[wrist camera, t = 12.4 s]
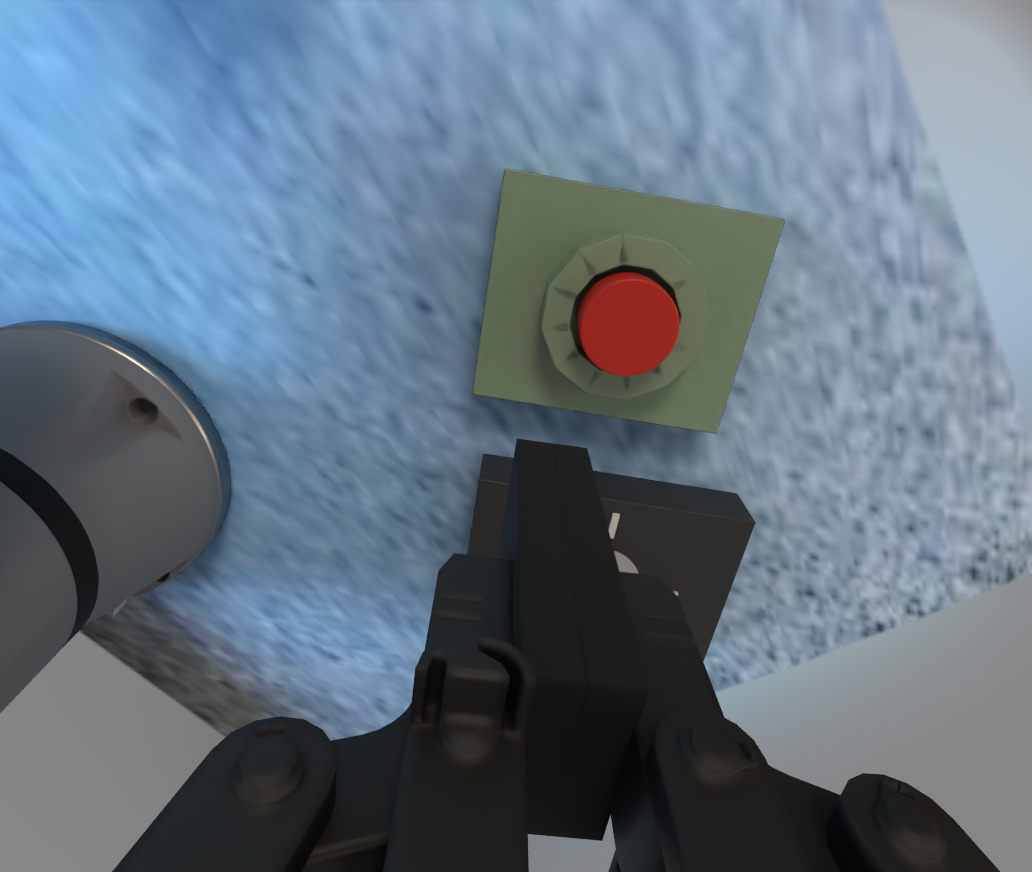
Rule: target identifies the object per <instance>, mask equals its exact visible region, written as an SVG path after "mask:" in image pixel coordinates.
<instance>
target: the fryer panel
mask: <svg viewBox="0 0 1032 872" xmlns="http://www.w3.org/2000/svg"><path fill="white" fill-rule="evenodd" d="M513 461H514V458H508V457H501V456H495V455H489V454H484V455H483V460H482V467H481V473H480V479H479V485H478V491H477V498H476V504H475V510H474V516H473V523H472V529H471V535H470V541H469V548H468V554H467V555H471V556H479V557H487V558H496V559H499V546H500V540H501V534H502V527H503V521H504V515H505V509H506V503H507V497H508V491H509V485H510V479H511V473H512V467H513ZM593 473H594V477H595V481H596V484H597V488H598V492H599V496H600V500H601V503H602V507H603V511H604V515H605V519H606V522H607V526H608V530H609V534H610V538H611V542H612V545H613V549H614V551H616V552H619V553H621V554H623V555H624V556H626V557H627V558H628V559H629V560H631V562H632V563H633V564H634V565H635V567H636V568H637V571H638V573H639V574H645V575H654V576H659V577H660V578H661V579H662V580H663V581H664V582H665V583H666V584H667V585H668V586H669V588H670V589H671V590H672V591H673V592H674V593H675V594H676V595H677V596H678V598H679V600H680V603H681V606H682V608H683V611H684V613H685V616H686V619H687V624H689V626H690V629H691V632H692V634H693V637H694V643H695V644H696V645H697V647H698V650H699V653H700V655H701V658H702V660H703V661H704V659H705V656H706V653H707V650H708V648H709V645H710V642H711V640H712V637H713V634H714V632H715V629H716V626H717V624H718V621H719V618H720V616H721V613H722V610H723V608H724V605H725V602H726V600H727V597H728V594H729V591H730V589H731V586H732V583H733V581H734V578H735V575H736V573H737V570H738V567H739V565H740V562H741V559H742V557H743V554H744V551H745V549H746V546H747V543H748V540H749V538H750V535H751V532H752V530H753V527H754V524H755V521H754V519H753V518H752V516H751V515H750V513H749V512H748V510H747V508H746V507H745V505H744V504H743V502H742V500H741V499H740V497H739V496H738V494H736V493H730V492H723V491H717V490H711V489H704V488H698V487H692V486H685V485H679V484H673V483H666V482H660V481H654V480H647V479H641V478H634V477H628V476H622V475H615V474H609V473H603V472H596V471H593Z"/></svg>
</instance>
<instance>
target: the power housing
mask: <svg viewBox="0 0 1032 872" xmlns="http://www.w3.org/2000/svg"><path fill="white" fill-rule="evenodd" d="M784 222H785V219H781V218H776V217H772V216H767V215H761V214H756V213H750V212H745V211H739V210H734V209H728V208H723V207H717V206H711V205H706V204H700V203H695V202H689V201H684V200H678V199H673V198H667V197H662V196H656V195H650V194H645V193H639V192H634V191H628V190H623V189H617V188H612V187H606V186H601V185H595V184H590V183H584V182H578V181H573V180H567V179H562V178H556V177H551V176H545V175H540V174H534V173H529V172H523V171H517V170H512V169H505V170H504V177H503V184H502V191H501V198H500V204H499V211H498V218H497V225H496V232H495V239H494V246H493V253H492V259H491V266H490V273H489V280H488V287H487V294H486V301H485V308H484V314H483V321H482V328H481V335H480V342H479V349H478V356H477V362H476V369H475V376H474V383H473V390H472V394H474V395H480V396H487V397H493V398H499V399H505V400H511V401H517V402H524V403H530V404H536V405H542V406H548V407H554V408H561V409H567V410H573V411H579V412H585V413H591V414H598V415H604V416H610V417H616V418H622V419H628V420H635V421H641V422H647V423H653V424H659V425H665V426H672V427H678V428H684V429H690V430H696V431H702V432H709V433H715V434H716V433H717V430H718V427H719V424H720V421H721V418H722V415H723V412H724V409H725V405H726V402H727V399H728V396H729V393H730V390H731V387H732V384H733V381H734V378H735V374H736V371H737V368H738V365H739V362H740V359H741V356H742V353H743V350H744V346H745V343H746V340H747V337H748V334H749V331H750V328H751V325H752V322H753V319H754V315H755V312H756V309H757V306H758V303H759V300H760V297H761V294H762V291H763V287H764V284H765V281H766V278H767V275H768V272H769V269H770V266H771V263H772V260H773V256H774V253H775V250H776V247H777V244H778V241H779V238H780V235H781V232H782V228H783V225H784ZM621 272H633V273H638V274H642V275H645V276H647V277H649V278H651V279H652V280H654V281H655V282H656V283H657V284H659V285H660V286H661V287H662V288H663V289H664V290H665V291H666V292H667V293H668V294H669V295H670V297H671V298H672V299H673V301H674V303H675V305H676V308H677V310H678V314H679V323H680V325H679V334H678V338H677V341H676V343H675V346H674V348H673V349H672V351H671V352H670V354H669V355H668V356H667V358H666V359H665V360H664V361H663V362H662V363H661V364H659V365H658V366H657V367H655V368H654V369H652V370H650V371H648V372H645V373H643V374H639V375H634V376H618V375H614V374H610V373H608V372H605V371H604V370H602V369H600V368H599V367H597V366H596V365H595V364H594V363H593V362H592V361H591V360H590V359H589V357H588V356H587V354H586V353H585V351H584V349H583V346H582V343H581V340H580V336H579V333H578V327H577V316H578V310H579V307H580V304H581V302H582V300H583V298H584V296H585V295H586V293H587V292H588V291H589V289H590V288H591V287H592V286H593V285H594V284H596V283H597V282H598V281H600V280H601V279H603V278H605V277H607V276H609V275H612V274H616V273H621Z"/></svg>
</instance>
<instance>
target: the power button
mask: <svg viewBox="0 0 1032 872" xmlns="http://www.w3.org/2000/svg"><path fill="white" fill-rule="evenodd" d="M679 325H680V323H679V314H678V310H677V308H676V305H675V303H674V301H673V299H672V298H671V297H670V295H669V294H668V293H667V292H666V291H665V290H664V289H663V288H662V287H661V286H660V285H659V284H657V283H656V282H655V281H654V280H652V279H651V278H649V277H647V276H645V275H642V274H638V273H633V272H621V273H616V274H612V275H609V276H607V277H605V278H603V279H601V280H600V281H598V282H597V283H596V284H594V285H593V286H592V287H591V288H590V289H589V291H588V292H587V293H586V295H585V296H584V298H583V300H582V302H581V304H580V307H579V310H578V316H577V327H578V333H579V336H580V340H581V343H582V346H583V349H584V351H585V353H586V354H587V356H588V357H589V359H590V360H591V361H592V362H593V363H594V364H595V365H596V366H597V367H599V368H600V369H602V370H604V371H605V372H608V373H610V374H614V375H618V376H634V375H639V374H643V373H645V372H648V371H650V370H652V369H654V368H655V367H657V366H658V365H659V364H661V363H662V362H663V361H664V360H665V359H666V358H667V356H668V355H669V354H670V352H671V351H672V349H673V348H674V346H675V343H676V341H677V338H678V334H679Z"/></svg>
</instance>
